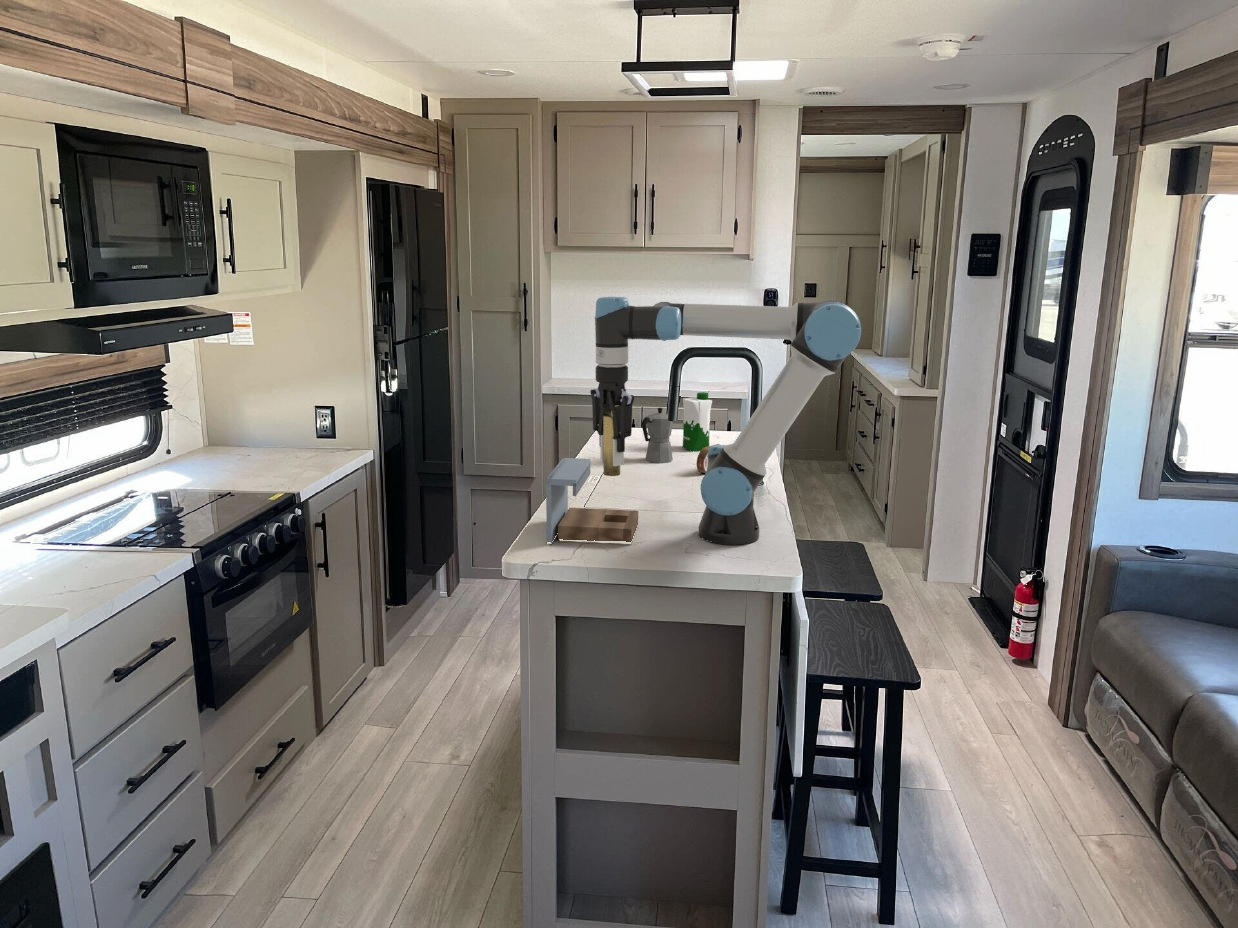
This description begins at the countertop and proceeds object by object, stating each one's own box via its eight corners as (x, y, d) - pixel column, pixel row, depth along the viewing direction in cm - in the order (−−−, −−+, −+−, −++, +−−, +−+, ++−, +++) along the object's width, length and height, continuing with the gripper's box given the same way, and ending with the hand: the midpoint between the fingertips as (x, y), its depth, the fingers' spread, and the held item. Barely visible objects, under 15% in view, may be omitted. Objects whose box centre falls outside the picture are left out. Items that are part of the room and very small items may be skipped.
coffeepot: (661, 454, 316) (662, 403, 312) (682, 459, 310) (683, 407, 306) (631, 462, 305) (631, 409, 301) (652, 466, 299) (653, 412, 295)
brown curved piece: (721, 466, 301) (722, 441, 299) (729, 468, 299) (730, 442, 297) (695, 475, 289) (695, 449, 287) (703, 476, 287) (704, 450, 285)
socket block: (638, 525, 237) (638, 510, 236) (631, 544, 221) (631, 529, 220) (569, 522, 239) (569, 507, 238) (558, 541, 223) (557, 525, 222)
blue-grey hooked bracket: (590, 519, 241) (590, 458, 237) (576, 546, 220) (575, 479, 216) (563, 518, 242) (563, 457, 238) (546, 544, 221) (546, 478, 217)
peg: (617, 476, 214) (617, 417, 211) (601, 475, 215) (600, 416, 212) (622, 472, 218) (622, 415, 215) (606, 471, 219) (606, 414, 216)
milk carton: (712, 450, 324) (714, 394, 319) (690, 452, 320) (692, 396, 316) (700, 445, 332) (702, 391, 327) (678, 447, 328) (680, 392, 323)
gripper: (576, 362, 215) (577, 459, 220) (622, 370, 202) (622, 472, 207) (601, 360, 219) (602, 455, 225) (648, 367, 207) (647, 467, 212)
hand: (611, 463), depth 216 cm, fingers closed on peg, 4 cm apart
